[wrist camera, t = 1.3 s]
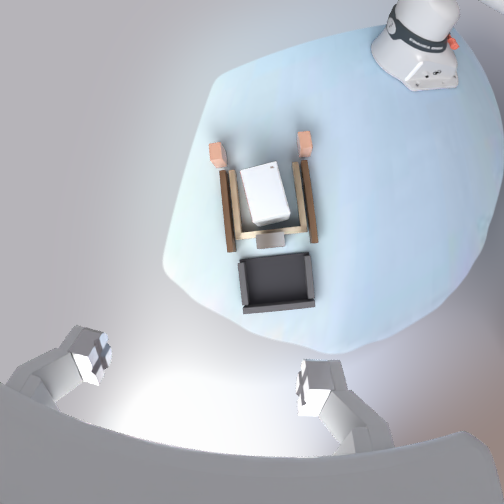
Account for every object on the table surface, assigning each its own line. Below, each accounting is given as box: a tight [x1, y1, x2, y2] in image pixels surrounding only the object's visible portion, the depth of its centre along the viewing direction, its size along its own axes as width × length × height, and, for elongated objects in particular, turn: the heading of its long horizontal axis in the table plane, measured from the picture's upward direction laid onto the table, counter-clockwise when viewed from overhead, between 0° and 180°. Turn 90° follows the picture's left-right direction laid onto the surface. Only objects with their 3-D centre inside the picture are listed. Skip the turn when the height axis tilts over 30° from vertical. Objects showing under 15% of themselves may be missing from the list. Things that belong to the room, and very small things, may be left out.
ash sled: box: [229, 162, 308, 249], centre depth 46 cm, size 12×14×9 cm
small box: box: [240, 161, 291, 227], centre depth 45 cm, size 8×6×10 cm
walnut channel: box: [219, 160, 318, 252], centre depth 49 cm, size 15×14×3 cm
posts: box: [209, 131, 313, 168], centre depth 48 cm, size 17×3×5 cm, turn 97°
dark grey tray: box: [238, 252, 315, 314], centre depth 49 cm, size 12×9×3 cm
